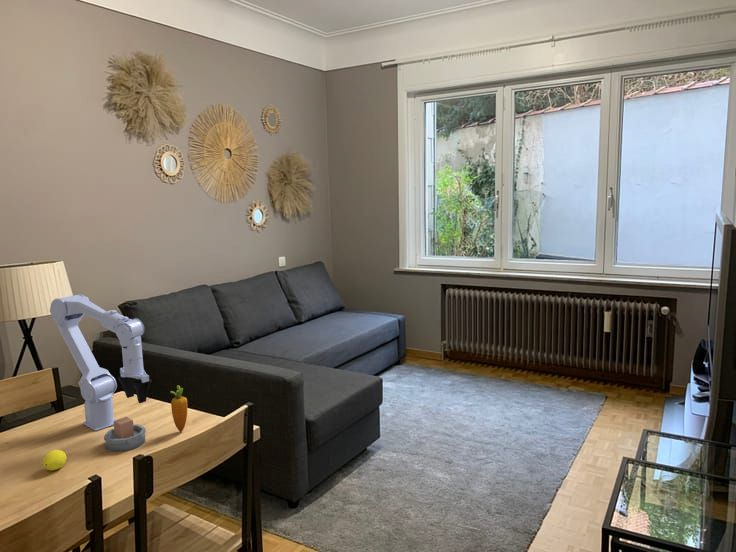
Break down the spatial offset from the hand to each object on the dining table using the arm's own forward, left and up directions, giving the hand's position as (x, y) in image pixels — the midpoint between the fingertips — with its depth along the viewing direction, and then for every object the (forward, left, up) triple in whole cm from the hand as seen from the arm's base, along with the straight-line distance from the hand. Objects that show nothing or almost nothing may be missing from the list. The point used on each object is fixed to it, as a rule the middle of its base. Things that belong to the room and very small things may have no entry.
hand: (136, 399), depth 173 cm
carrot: (+12, +8, -11) cm, 18 cm away
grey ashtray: (+6, -7, -10) cm, 14 cm away
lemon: (+6, -27, -11) cm, 30 cm away
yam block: (+6, -7, -8) cm, 12 cm away
